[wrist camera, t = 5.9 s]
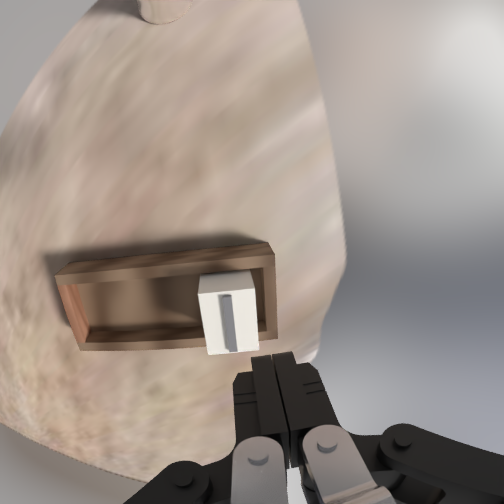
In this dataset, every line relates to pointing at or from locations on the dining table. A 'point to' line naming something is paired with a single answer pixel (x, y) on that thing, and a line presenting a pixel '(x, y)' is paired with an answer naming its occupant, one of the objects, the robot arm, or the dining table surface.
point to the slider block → (228, 311)
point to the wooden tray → (158, 297)
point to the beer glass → (163, 10)
